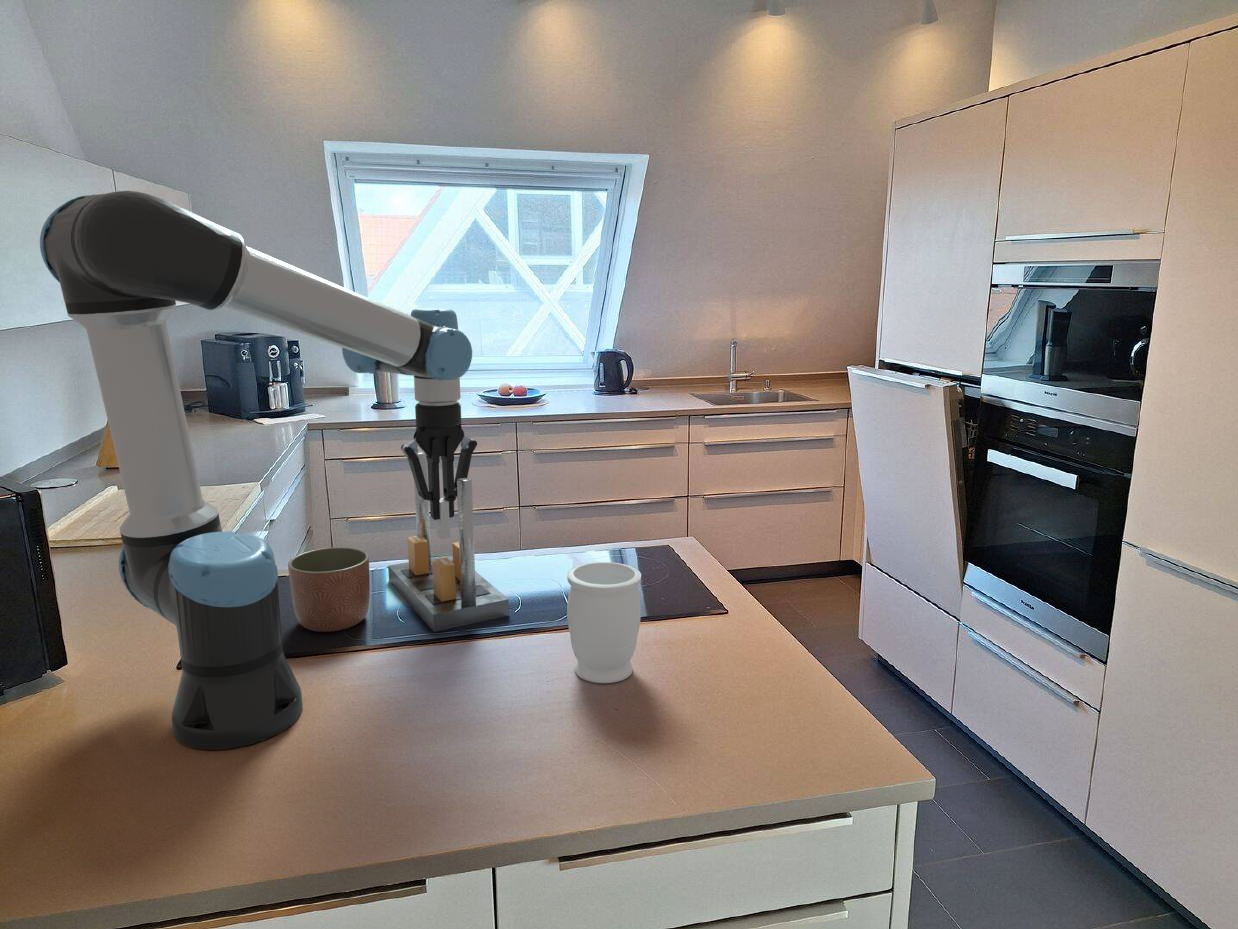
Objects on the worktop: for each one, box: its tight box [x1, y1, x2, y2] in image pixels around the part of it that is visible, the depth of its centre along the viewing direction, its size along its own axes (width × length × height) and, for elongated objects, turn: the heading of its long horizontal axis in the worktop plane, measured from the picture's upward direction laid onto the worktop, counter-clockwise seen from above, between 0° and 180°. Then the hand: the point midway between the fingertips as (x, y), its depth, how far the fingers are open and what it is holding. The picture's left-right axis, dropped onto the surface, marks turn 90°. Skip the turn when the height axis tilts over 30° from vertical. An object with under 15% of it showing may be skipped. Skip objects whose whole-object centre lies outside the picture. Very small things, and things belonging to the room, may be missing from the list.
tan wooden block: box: [407, 535, 429, 575], centre depth 148 cm, size 4×2×6 cm, turn 31°
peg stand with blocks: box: [387, 451, 510, 633], centre depth 143 cm, size 26×13×24 cm, turn 31°
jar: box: [566, 561, 642, 684], centre depth 117 cm, size 11×10×15 cm
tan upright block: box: [451, 541, 460, 580], centre depth 146 cm, size 4×2×6 cm, turn 31°
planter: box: [287, 546, 371, 633], centre depth 133 cm, size 12×12×11 cm
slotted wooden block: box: [432, 558, 456, 602], centre depth 137 cm, size 4×2×6 cm, turn 31°
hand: (443, 536), depth 143 cm, fingers closed
